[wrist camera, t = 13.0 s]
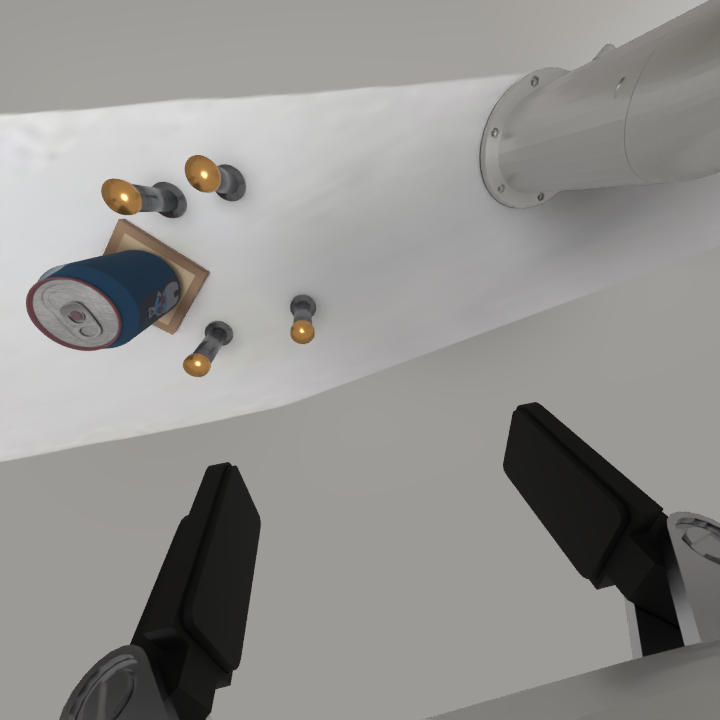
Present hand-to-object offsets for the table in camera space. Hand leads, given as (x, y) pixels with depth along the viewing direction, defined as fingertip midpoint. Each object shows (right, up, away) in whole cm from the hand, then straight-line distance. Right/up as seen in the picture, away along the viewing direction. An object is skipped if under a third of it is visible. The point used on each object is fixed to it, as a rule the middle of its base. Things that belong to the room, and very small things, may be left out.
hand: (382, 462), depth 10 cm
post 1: (-21, +20, +20) cm, 35 cm away
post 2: (-14, +22, +20) cm, 33 cm away
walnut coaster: (-25, +13, +23) cm, 36 cm away
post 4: (-8, +10, +27) cm, 30 cm away
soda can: (-24, +12, +22) cm, 35 cm away
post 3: (-19, +7, +27) cm, 34 cm away
